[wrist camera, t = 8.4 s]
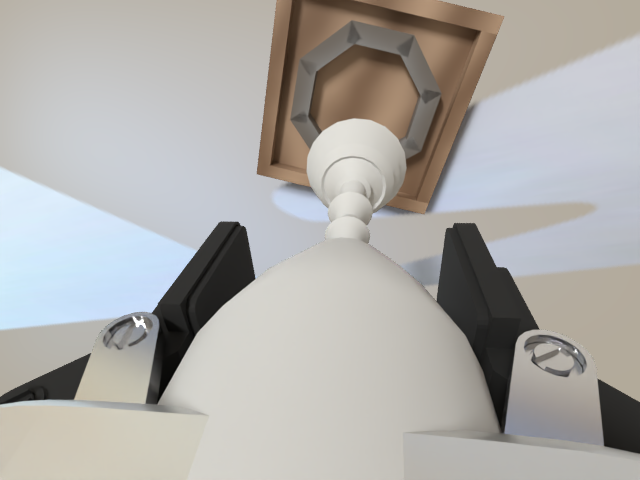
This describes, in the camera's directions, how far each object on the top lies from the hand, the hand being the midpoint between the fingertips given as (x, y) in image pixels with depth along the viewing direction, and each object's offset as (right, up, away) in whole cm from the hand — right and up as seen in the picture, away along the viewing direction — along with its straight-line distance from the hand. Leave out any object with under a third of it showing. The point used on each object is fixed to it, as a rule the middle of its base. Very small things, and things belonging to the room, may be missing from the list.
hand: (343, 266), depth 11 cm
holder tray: (+3, +13, +22) cm, 26 cm away
